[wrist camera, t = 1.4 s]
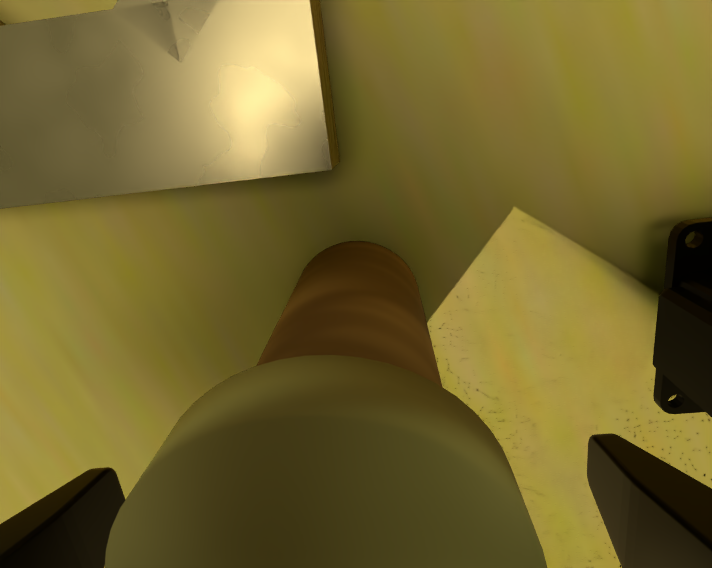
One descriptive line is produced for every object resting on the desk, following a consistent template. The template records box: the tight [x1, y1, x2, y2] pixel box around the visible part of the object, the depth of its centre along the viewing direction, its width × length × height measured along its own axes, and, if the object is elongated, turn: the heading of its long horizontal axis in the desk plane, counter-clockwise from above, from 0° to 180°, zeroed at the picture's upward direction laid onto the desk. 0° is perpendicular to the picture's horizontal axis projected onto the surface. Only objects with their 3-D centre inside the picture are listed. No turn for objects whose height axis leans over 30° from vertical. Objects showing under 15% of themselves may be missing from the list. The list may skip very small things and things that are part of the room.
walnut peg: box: [105, 241, 547, 568], centre depth 12 cm, size 6×6×12 cm
